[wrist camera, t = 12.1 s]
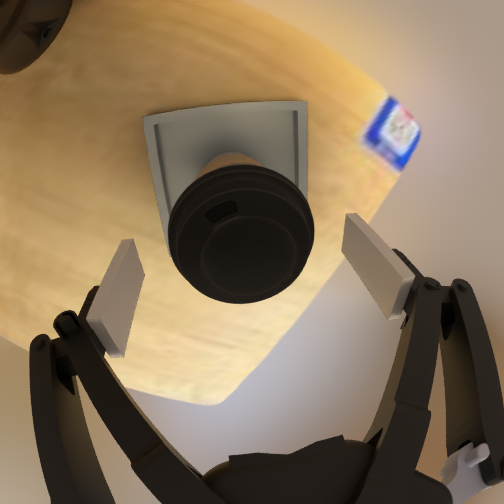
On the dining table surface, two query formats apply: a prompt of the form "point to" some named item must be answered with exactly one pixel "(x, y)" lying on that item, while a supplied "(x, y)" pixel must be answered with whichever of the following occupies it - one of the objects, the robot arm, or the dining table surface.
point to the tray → (224, 143)
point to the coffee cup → (240, 230)
